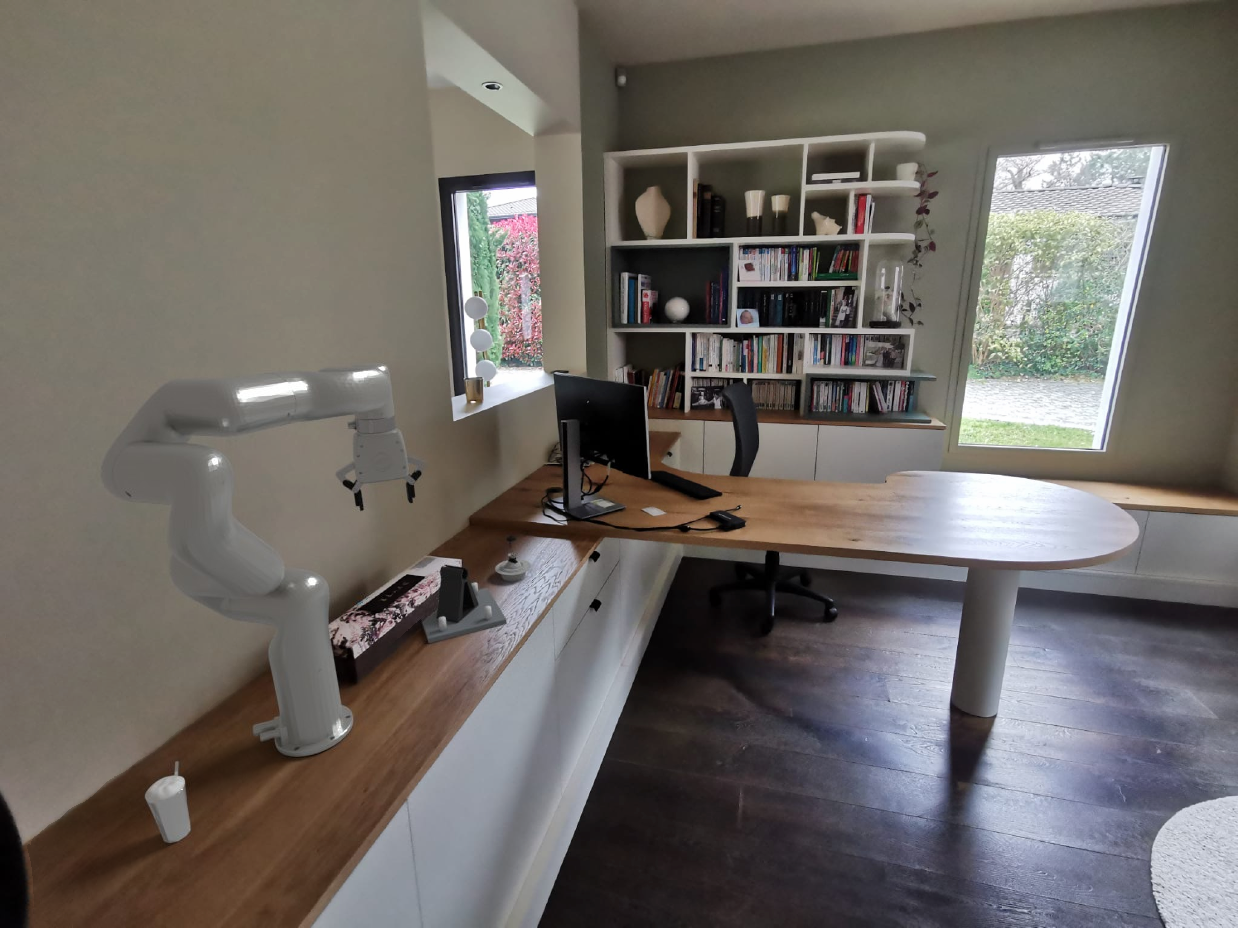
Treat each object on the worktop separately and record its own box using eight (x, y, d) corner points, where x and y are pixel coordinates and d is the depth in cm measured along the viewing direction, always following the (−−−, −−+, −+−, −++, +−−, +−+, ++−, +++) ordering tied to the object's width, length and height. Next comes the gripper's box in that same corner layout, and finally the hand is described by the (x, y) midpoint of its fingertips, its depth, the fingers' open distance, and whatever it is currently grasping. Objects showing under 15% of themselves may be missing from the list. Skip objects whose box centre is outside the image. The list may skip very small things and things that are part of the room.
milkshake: (206, 815, 90) (193, 760, 87) (182, 846, 85) (167, 789, 82) (176, 816, 90) (161, 761, 87) (150, 848, 84) (133, 790, 82)
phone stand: (457, 623, 140) (453, 576, 136) (436, 619, 142) (431, 573, 138) (479, 605, 148) (475, 560, 145) (458, 601, 150) (454, 557, 147)
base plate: (428, 643, 134) (426, 626, 133) (416, 607, 149) (415, 592, 148) (506, 623, 142) (505, 607, 140) (487, 591, 157) (486, 577, 156)
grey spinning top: (537, 532, 164) (510, 525, 169) (511, 545, 156) (484, 537, 161) (539, 573, 167) (513, 565, 173) (514, 587, 159) (488, 578, 165)
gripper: (329, 433, 113) (342, 517, 118) (423, 424, 120) (431, 503, 125) (328, 426, 119) (340, 506, 124) (417, 417, 127) (426, 493, 131)
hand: (386, 505), depth 125 cm, fingers open, 9 cm apart
